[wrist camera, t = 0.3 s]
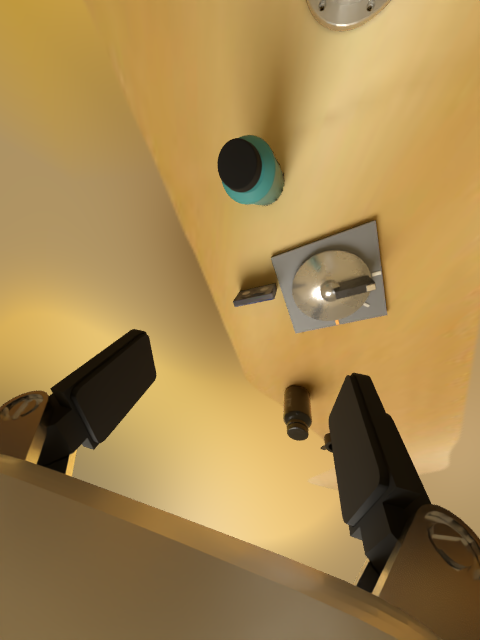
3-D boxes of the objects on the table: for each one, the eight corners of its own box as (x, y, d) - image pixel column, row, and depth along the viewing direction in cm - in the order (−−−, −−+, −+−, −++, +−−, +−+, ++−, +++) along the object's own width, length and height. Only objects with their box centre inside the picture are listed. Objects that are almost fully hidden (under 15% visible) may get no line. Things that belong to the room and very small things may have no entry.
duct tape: (313, 431, 63) (314, 440, 61) (348, 428, 59) (350, 438, 57) (321, 446, 66) (322, 455, 63) (355, 445, 62) (357, 455, 59)
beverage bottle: (280, 209, 37) (265, 211, 20) (244, 202, 38) (201, 199, 21) (290, 164, 33) (282, 121, 16) (251, 158, 34) (205, 111, 17)
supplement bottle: (289, 403, 60) (287, 444, 49) (281, 386, 57) (277, 425, 47) (313, 400, 57) (316, 443, 47) (305, 383, 54) (307, 423, 44)
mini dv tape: (241, 297, 47) (235, 308, 42) (239, 291, 46) (232, 301, 41) (276, 289, 44) (274, 300, 39) (275, 283, 43) (272, 293, 38)
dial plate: (271, 257, 41) (270, 258, 40) (373, 220, 34) (376, 220, 33) (295, 331, 48) (295, 333, 47) (385, 312, 41) (387, 315, 40)
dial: (302, 324, 45) (302, 337, 41) (283, 264, 40) (281, 272, 35) (374, 309, 40) (384, 322, 35) (364, 237, 35) (374, 242, 30)
